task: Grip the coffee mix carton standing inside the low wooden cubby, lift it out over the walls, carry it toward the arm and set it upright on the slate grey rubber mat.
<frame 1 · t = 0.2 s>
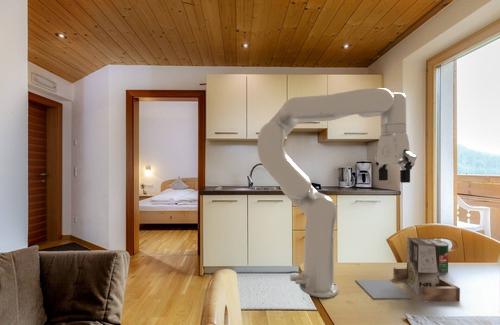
hand: (393, 181, 85), 36 cm above the table, tool pointing down, fingers open, 9 cm apart
canned tomato: (435, 270, 100), on the table
coffee box: (421, 289, 84), on the table
cubby: (421, 288, 84), on the table
mat: (381, 289, 84), on the table
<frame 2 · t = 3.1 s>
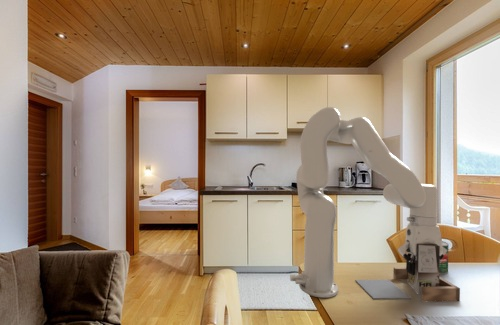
hand: (422, 272, 84), 5 cm above the table, tool pointing down, fingers closed on coffee box, 7 cm apart
coffee box: (421, 289, 84), on the table, touching gripper
everything else where it was.
when the fingers open (7 cm above the table, at t = 10.4 s): coffee box drops 1 cm, resting on mat.
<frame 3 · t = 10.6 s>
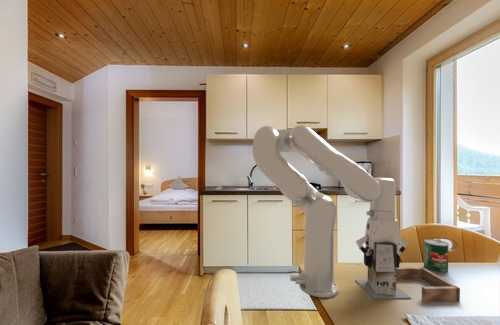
hand: (381, 266, 84), 8 cm above the table, tool pointing down, fingers open, 9 cm apart
coffee box: (380, 288, 84), resting on mat
everything else where it was.
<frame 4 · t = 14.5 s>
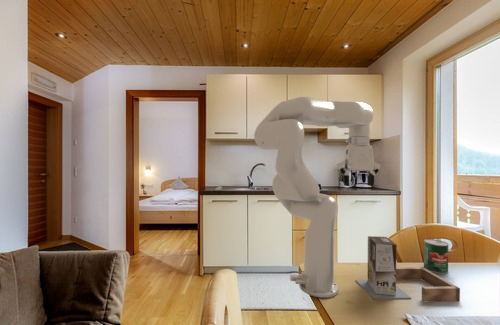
hand: (358, 185, 99), 33 cm above the table, tool pointing down, fingers open, 9 cm apart
nothing on the table moved.
at the end: coffee box inside the target area on the mat (0.2 cm from its centre), point 0.2 cm above the mat's base; coffee box tilted 0°; the gripper is holding nothing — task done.
